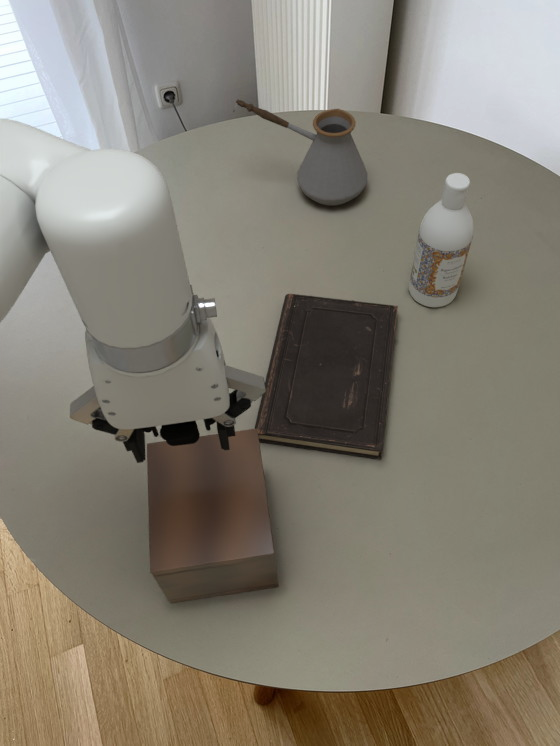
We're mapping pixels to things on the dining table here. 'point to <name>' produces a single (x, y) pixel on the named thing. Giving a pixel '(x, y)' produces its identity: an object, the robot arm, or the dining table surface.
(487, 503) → the dining table surface
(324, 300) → the hardcover book
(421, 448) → the dining table surface
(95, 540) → the dining table surface
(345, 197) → the coffee pot
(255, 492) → the bronze lidded case
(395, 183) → the dining table surface
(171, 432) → the wireless earbuds
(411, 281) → the bath foam
